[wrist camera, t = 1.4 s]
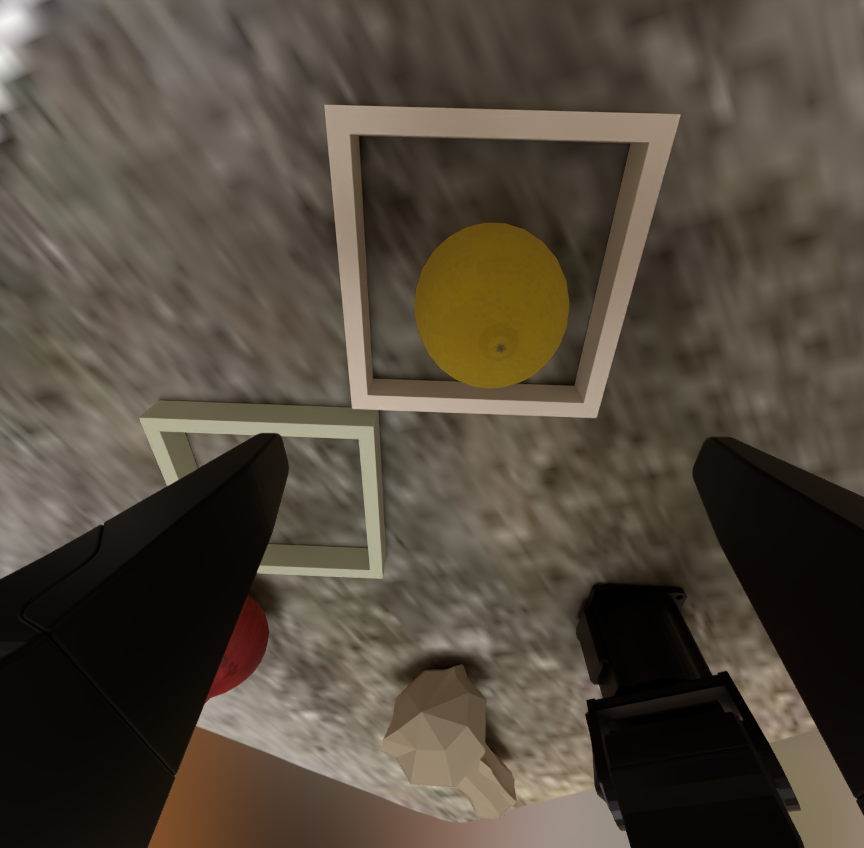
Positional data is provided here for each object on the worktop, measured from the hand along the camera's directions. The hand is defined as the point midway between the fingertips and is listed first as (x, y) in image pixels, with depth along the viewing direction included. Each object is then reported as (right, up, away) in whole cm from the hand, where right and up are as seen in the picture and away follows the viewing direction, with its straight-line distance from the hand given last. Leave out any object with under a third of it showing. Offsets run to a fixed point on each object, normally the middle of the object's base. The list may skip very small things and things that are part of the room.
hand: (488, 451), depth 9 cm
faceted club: (+2, -29, +33) cm, 44 cm away
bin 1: (-10, -3, +17) cm, 20 cm away
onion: (-15, -12, +23) cm, 31 cm away
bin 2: (+1, +7, +10) cm, 12 cm away
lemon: (+1, +7, +10) cm, 12 cm away
